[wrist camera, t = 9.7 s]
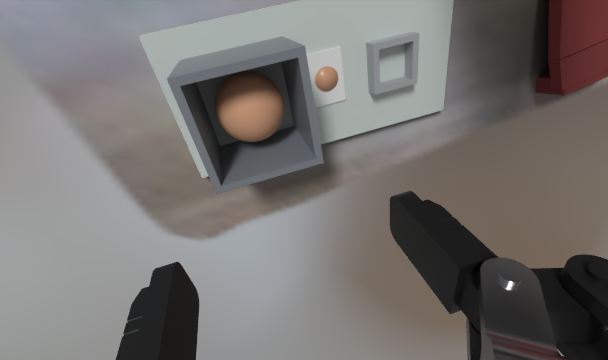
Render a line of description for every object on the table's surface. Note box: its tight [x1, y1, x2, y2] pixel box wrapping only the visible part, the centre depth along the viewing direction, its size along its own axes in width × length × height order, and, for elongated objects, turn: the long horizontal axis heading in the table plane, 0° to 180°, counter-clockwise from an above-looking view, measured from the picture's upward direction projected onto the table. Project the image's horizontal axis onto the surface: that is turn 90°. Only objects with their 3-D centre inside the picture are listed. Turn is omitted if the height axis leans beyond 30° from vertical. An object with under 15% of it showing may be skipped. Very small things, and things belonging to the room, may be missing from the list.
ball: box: [215, 72, 284, 142], centre depth 25 cm, size 6×6×6 cm
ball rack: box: [139, 0, 454, 194], centre depth 26 cm, size 29×14×9 cm, turn 100°
